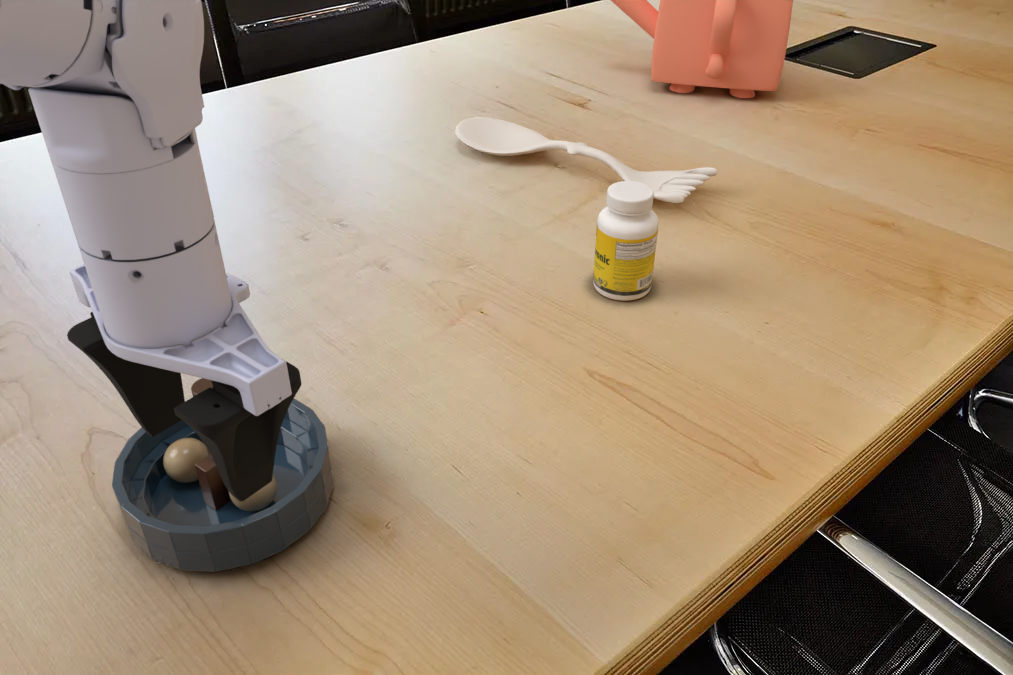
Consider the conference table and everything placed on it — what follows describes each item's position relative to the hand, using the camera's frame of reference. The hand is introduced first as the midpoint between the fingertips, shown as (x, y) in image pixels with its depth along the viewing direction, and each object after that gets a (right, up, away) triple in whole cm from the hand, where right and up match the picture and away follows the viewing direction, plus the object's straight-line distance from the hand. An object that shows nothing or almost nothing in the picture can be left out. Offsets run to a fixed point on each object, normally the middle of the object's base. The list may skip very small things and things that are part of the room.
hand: (207, 455), depth 46 cm
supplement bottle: (+27, +11, +34) cm, 44 cm away
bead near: (0, -3, +9) cm, 10 cm away
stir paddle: (-2, -4, +11) cm, 12 cm away
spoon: (+24, +26, +54) cm, 64 cm away
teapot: (+43, +44, +80) cm, 101 cm away
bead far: (-5, -2, +11) cm, 13 cm away
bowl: (-2, -4, +12) cm, 13 cm away
